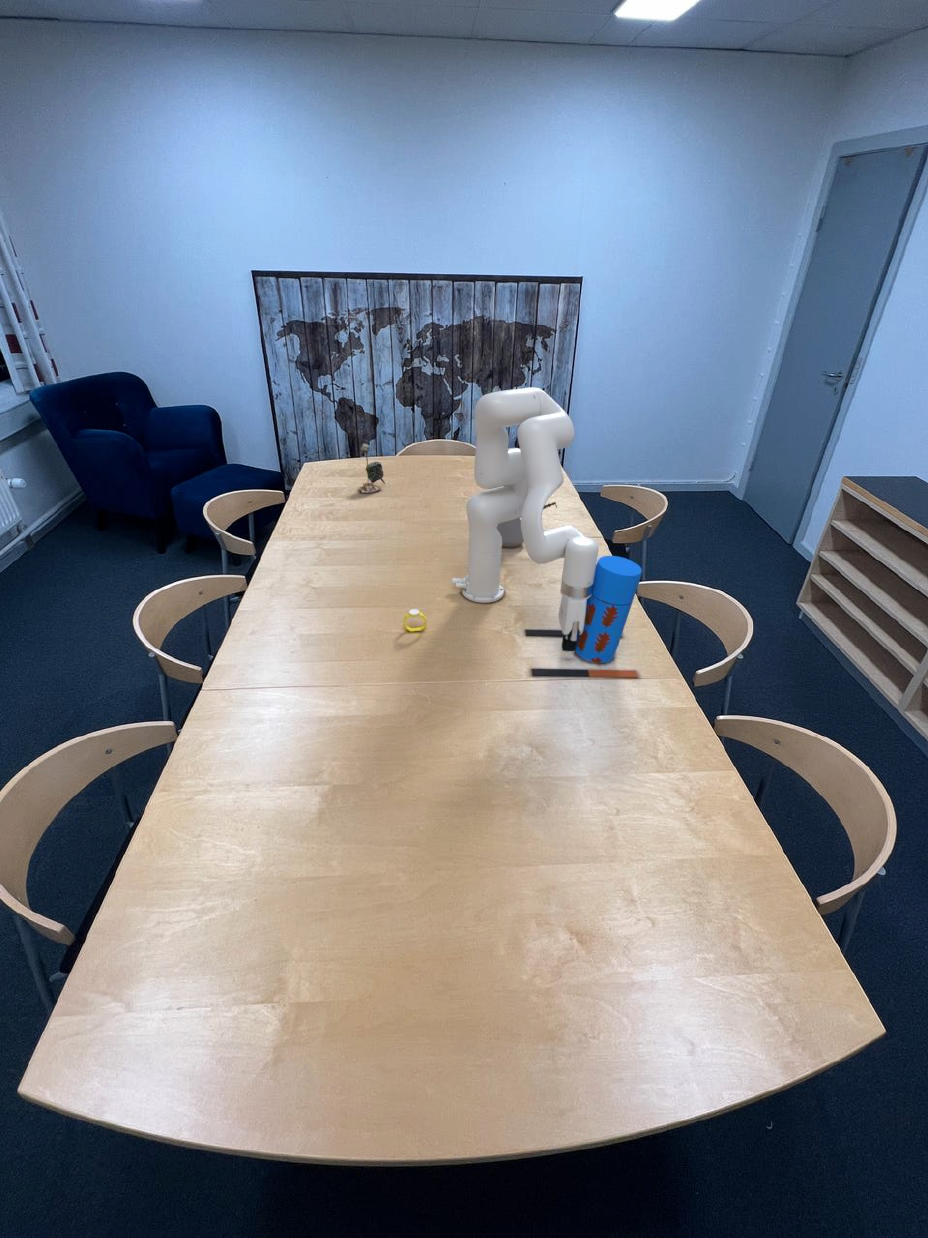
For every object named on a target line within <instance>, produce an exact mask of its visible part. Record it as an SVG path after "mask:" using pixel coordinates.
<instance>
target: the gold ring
mask: <svg viewBox="0 0 928 1238" xmlns="http://www.w3.org/2000/svg"><path fill="white" fill-rule="evenodd" d="M418 616H419V617H421V618H422V619H423V620H424V621H423V624H422V625H421V626H418V627H410V626H408V624H407V623H406V622H407V619H408V618H409V617H412V618H413V617H418ZM403 626H404V628H405V630H407V631H408V632H422V631H423V630H424V629H425V628H426V626H427V617H426V615H424V613H423V612H420V610H419V609H416V608H413V609H410V610H409V611H408V613H406V614H405V615H404V616H403Z"/></svg>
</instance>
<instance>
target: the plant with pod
mask: <svg viewBox="0 0 928 1238" xmlns="http://www.w3.org/2000/svg"><path fill="white" fill-rule="evenodd" d="M370 448H371V446H370V444H367V443H362V445H361V447H360V452H359V454H360V455H361V454H362V453H364V454H365V458H366V467H365V472H366V476H367V479H368V481H370V482H363V486H360V487H358V489H359V493H363V494H367V493H371V494H372V493H375V492H378V491H380V488H379V487H378V486H377V485H374V483H376V482H377V481H381V482H382V484H384V485H386V482H385V480H384V479H383V478H384V471H383V466H382V462H380V461H377V460H376V461H374V462H373V461H372V462H370V463H369V460H368V459H369V458H368V453H369V452H370Z"/></svg>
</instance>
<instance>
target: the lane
mask: <svg viewBox="0 0 928 1238" xmlns="http://www.w3.org/2000/svg"><path fill="white" fill-rule="evenodd" d="M563 635H564V634H563V633H562V630H561V629H526V628H525V636H526V637H563ZM622 638H623V635H622V636H621V639H622ZM531 675H532V677H565V678H567V677H568V678H611V679H612V678H614V679H615V678H616V679H638V678H639V676H638V673H637V671H636V670H621V669H619V670H618V669H617V670H616V669H571V668H570V669H569V668H568V669H566V668H563V669H562V668H531Z"/></svg>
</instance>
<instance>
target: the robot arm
mask: <svg viewBox="0 0 928 1238" xmlns="http://www.w3.org/2000/svg"><path fill="white" fill-rule="evenodd" d="M473 419H474V420H473V421H474V429H475V435H476V436H475V437H476V438H475V451H474V465H473V466H474V470H473V475H474V481H475V484H476V485H477V486H478V487H479V488H481V489H483V490H484V491H479V492H477V493H475V494H473V495H472V496H471V497H469V498H468V500H467V503H466V509H465V510H466V516H467V524H468V556H467V574H466V575H465V577H462V578H457V577H456V578H455V577H453V578H451V579H452V580H451V581H452V582H451V585H452V586H455V588H456V589H461V593H462V595H463V597H465V598H466V599H467V600H469V601H472V602H474V603H481V604H486V603H493V602H494V603H495V602H497V601H499V600H501V599H502V598H503V597H504V595H505V589H504V586H503V585H502V584H500V579H501V563H502V552H503V550H502V549H503V546H502V537H501V534H500V533H499V531H498V530H497V528H496V527H497V525H498V524H500V523H503V522H506V521H510V520H514V519H517V518H519V517H521V518H520V520H521V531H522V535H523V539H524V542H523V543H524V547H525V550H526V552H527V553H526V554H527V555H528V557H529V558H530V559H531V561H532V562H534V563H536V564H540V565H542V564H547V563H550V562H554V561H557V560H560V559H563V565H562V566H563V568H562V574H561V582H560V583H561V584H560V591H559V592H560V594H561V598H560V604H559V608H558V620H559V625H560V630H562V633H563V634H564V635H563V636H562V639H561V640H562V641H561V651H562V652H575V646H576V640H577V633H578V632H579V635H581V634H582V633H583V628H584V621H585V613H586V604H587V599H588V598H590V597H591V595H592V588H593V582H594V575H595V569H596V564H597V562H598V555H599V544H598V542H597V541H596V540H595V539H593V538H591V537H588V536H586V535H584V534H583V533H582V531H580V530H579V529H578V528H577V527H576V526H574V525H571V524H564V525H563V524H562V525H560V526H557V527H552V528H549V529H546V530H544V528H543V527H544V526H543V511H544V509H543V508H544V505H546V503H547V502H548V501H549V499H550V498H551V496H552V495H553V494H554V493H555V492H556V491H557V490H558V489H559V488H560V487H561V486H562V485H563V484H564V481H565V480H564V479H565V478H564V474H563V470H562V466H561V465H562V464H561V460H560V456H559V452H558V450H561V449H566V448H569V447H570V446H571V445H572V443H573V442H574V439H575V434H576V433H575V427H574V423H573V421H572V419H571V418H570V416H569V414H568V413H567V412H566V411H565V409H563V407H561V406H560V405H559V404H558V403H557V402H556V401H555V399H553V398H552V397H551V396H550V395H548V393H547V392H545V391H544V390H543V389H541V388H539V387H535V386H534V387H532V386H531V387H522V388H515V389H514V388H513V389H506V390H498V391H494V392H488V393H486V394H484V395H482V396H480V398H479V399H478V400H477V402H476V404H475V407H474V411H473ZM516 426H518V428H517V433H516V435H517V443H518V446H519V448H518V447H509V445H510V444H509V443H510V438H509V437H510V435H509V433H508V430H507V428H509V427H516Z"/></svg>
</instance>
